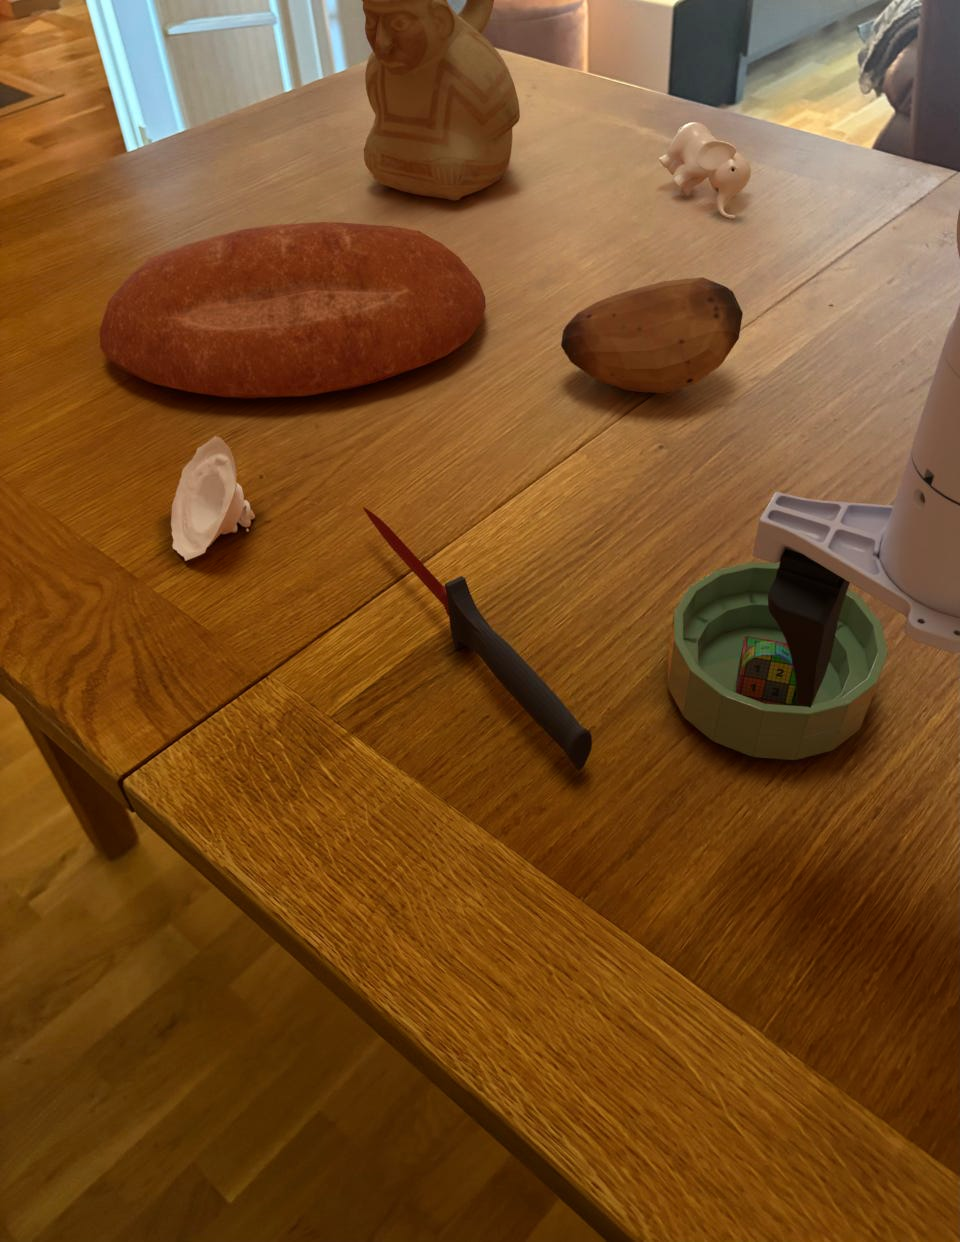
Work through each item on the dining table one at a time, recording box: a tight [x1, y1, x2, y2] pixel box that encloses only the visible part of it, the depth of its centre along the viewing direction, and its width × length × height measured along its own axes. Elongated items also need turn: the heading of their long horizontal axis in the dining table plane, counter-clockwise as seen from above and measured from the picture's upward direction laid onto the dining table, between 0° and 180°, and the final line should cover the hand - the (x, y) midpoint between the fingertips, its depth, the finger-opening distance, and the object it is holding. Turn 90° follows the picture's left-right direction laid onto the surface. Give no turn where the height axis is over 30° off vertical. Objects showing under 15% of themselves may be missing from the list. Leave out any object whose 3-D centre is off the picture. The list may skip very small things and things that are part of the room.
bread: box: [99, 221, 487, 399], centre depth 84 cm, size 23×32×9 cm
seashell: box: [170, 435, 256, 562], centre depth 68 cm, size 8×5×8 cm
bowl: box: [667, 561, 889, 761], centre depth 57 cm, size 11×11×4 cm
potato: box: [560, 277, 744, 394], centre depth 77 cm, size 8×13×8 cm
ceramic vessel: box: [361, 0, 521, 201], centre depth 99 cm, size 17×20×25 cm
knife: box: [362, 506, 593, 771], centre depth 60 cm, size 24×2×5 cm, turn 33°
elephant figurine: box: [658, 121, 754, 220], centre depth 100 cm, size 7×12×6 cm
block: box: [735, 635, 796, 706], centre depth 55 cm, size 6×4×3 cm
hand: (898, 721), depth 44 cm, fingers open, 7 cm apart
